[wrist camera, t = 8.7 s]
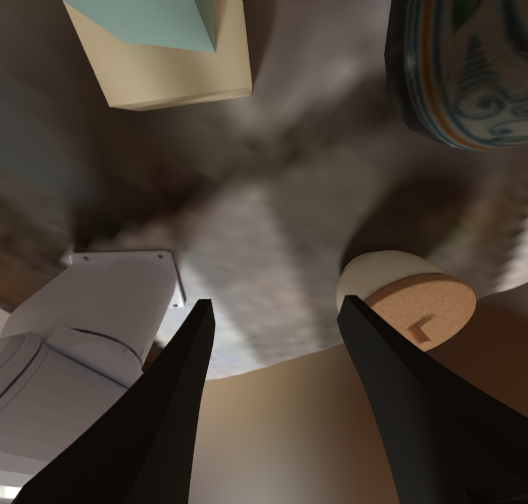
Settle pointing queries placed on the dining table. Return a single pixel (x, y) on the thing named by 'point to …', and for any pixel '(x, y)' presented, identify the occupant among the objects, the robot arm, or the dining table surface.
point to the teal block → (154, 21)
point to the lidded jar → (409, 295)
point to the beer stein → (461, 71)
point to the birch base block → (169, 64)
